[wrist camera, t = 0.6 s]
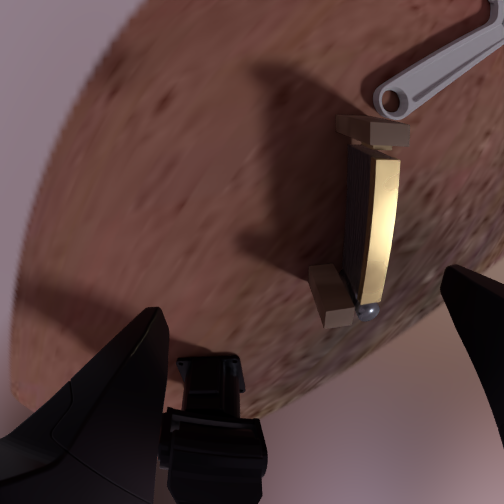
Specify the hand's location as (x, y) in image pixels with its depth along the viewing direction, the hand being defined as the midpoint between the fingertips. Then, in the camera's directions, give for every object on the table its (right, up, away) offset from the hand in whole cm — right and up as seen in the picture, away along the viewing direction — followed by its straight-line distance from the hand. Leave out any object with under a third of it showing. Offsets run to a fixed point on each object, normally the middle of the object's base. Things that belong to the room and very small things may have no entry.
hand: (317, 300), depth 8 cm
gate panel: (+6, +4, +12) cm, 14 cm away
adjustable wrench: (+16, +19, +5) cm, 26 cm away
